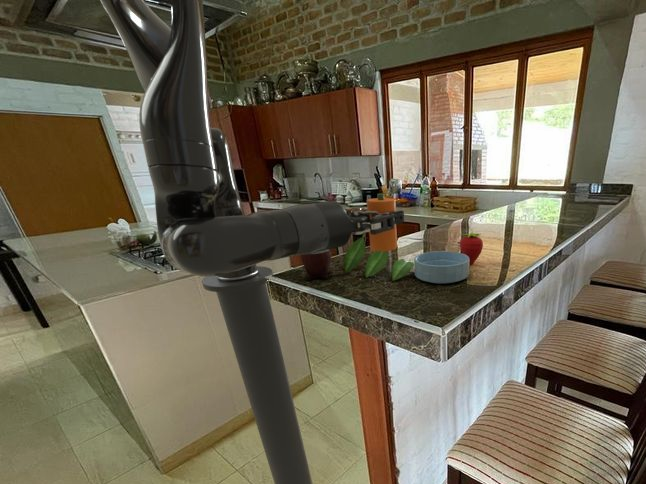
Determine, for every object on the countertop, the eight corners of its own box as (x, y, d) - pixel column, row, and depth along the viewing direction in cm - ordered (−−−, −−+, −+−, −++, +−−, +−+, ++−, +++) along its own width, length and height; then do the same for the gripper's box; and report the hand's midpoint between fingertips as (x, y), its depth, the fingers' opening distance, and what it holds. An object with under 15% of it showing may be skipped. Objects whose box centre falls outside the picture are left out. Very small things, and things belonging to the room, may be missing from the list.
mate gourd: (339, 275, 83) (331, 213, 77) (313, 284, 78) (301, 218, 71) (320, 270, 88) (311, 210, 81) (294, 278, 82) (282, 215, 76)
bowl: (403, 278, 80) (403, 260, 78) (435, 265, 89) (435, 248, 87) (448, 289, 73) (449, 269, 71) (478, 273, 82) (479, 256, 80)
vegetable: (364, 248, 65) (360, 194, 61) (383, 243, 69) (380, 191, 64) (384, 252, 62) (380, 196, 58) (402, 247, 66) (400, 193, 61)
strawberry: (461, 269, 86) (462, 230, 81) (457, 261, 92) (458, 224, 88) (484, 268, 86) (486, 229, 81) (478, 260, 92) (481, 223, 88)
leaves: (400, 300, 83) (422, 262, 89) (400, 286, 77) (423, 246, 83) (337, 273, 86) (362, 237, 91) (333, 257, 80) (359, 221, 85)
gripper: (336, 207, 47) (418, 196, 58) (288, 200, 56) (367, 191, 67) (342, 259, 51) (419, 239, 62) (295, 244, 60) (370, 229, 71)
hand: (391, 214), depth 64 cm, fingers closed on vegetable, 5 cm apart
